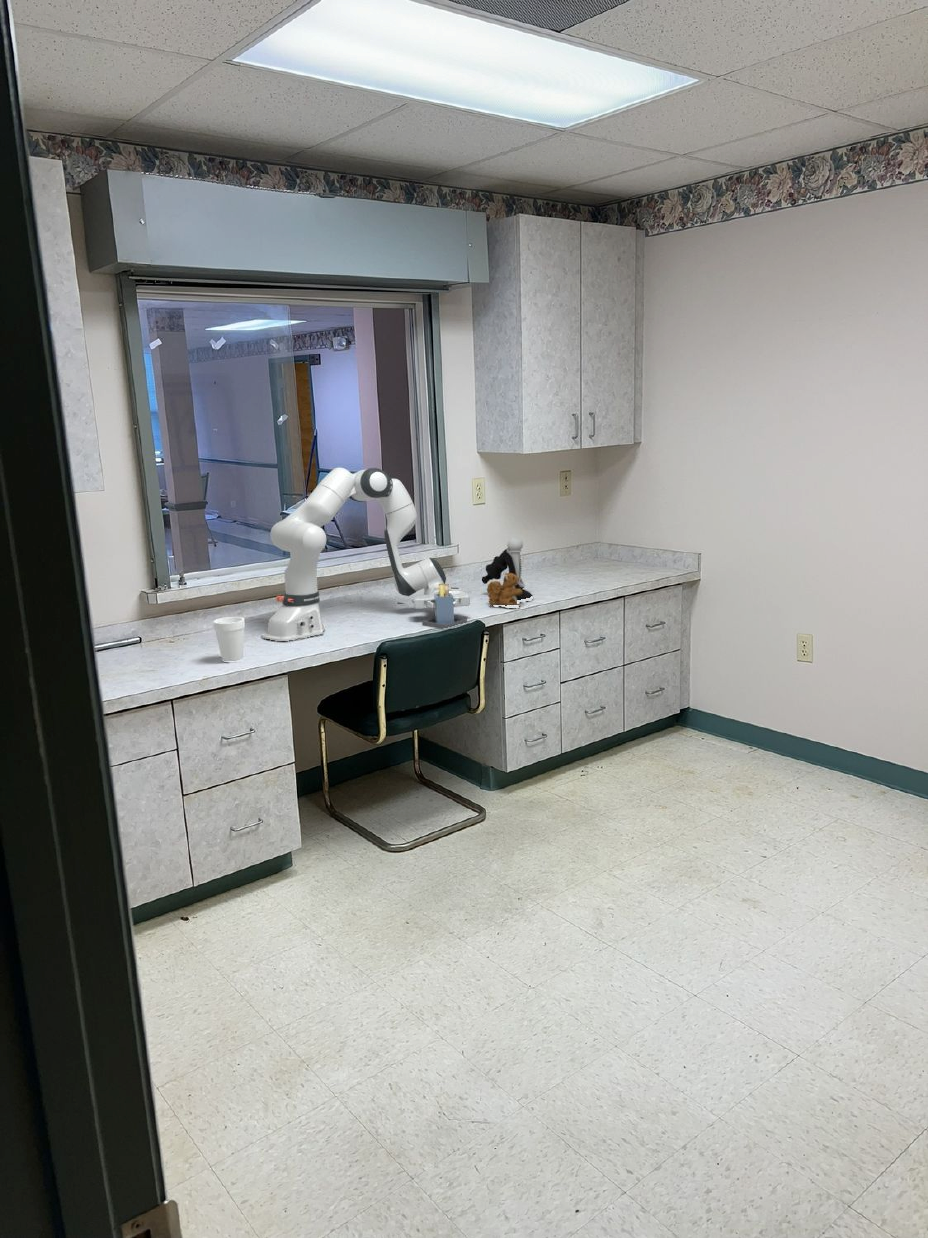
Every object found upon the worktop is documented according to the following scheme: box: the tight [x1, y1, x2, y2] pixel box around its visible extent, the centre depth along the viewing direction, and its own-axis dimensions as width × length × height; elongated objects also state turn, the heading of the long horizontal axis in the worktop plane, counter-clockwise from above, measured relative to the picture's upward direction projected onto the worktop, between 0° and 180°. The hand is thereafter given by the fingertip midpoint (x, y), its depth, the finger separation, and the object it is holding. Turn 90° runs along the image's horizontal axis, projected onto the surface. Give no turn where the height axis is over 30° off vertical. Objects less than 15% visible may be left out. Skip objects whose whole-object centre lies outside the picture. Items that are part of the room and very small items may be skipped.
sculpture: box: [481, 537, 534, 600], centre depth 368 cm, size 15×24×25 cm, turn 51°
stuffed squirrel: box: [486, 572, 522, 606], centre depth 354 cm, size 10×14×13 cm
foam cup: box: [213, 616, 246, 661], centre depth 289 cm, size 10×9×13 cm
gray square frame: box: [421, 616, 468, 630], centre depth 327 cm, size 11×11×2 cm
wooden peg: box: [444, 583, 450, 596], centre depth 325 cm, size 2×2×13 cm
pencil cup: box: [434, 593, 455, 625], centre depth 325 cm, size 6×6×10 cm
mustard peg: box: [439, 584, 445, 597], centre depth 324 cm, size 2×2×13 cm
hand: (444, 605), depth 324 cm, fingers open, 6 cm apart
